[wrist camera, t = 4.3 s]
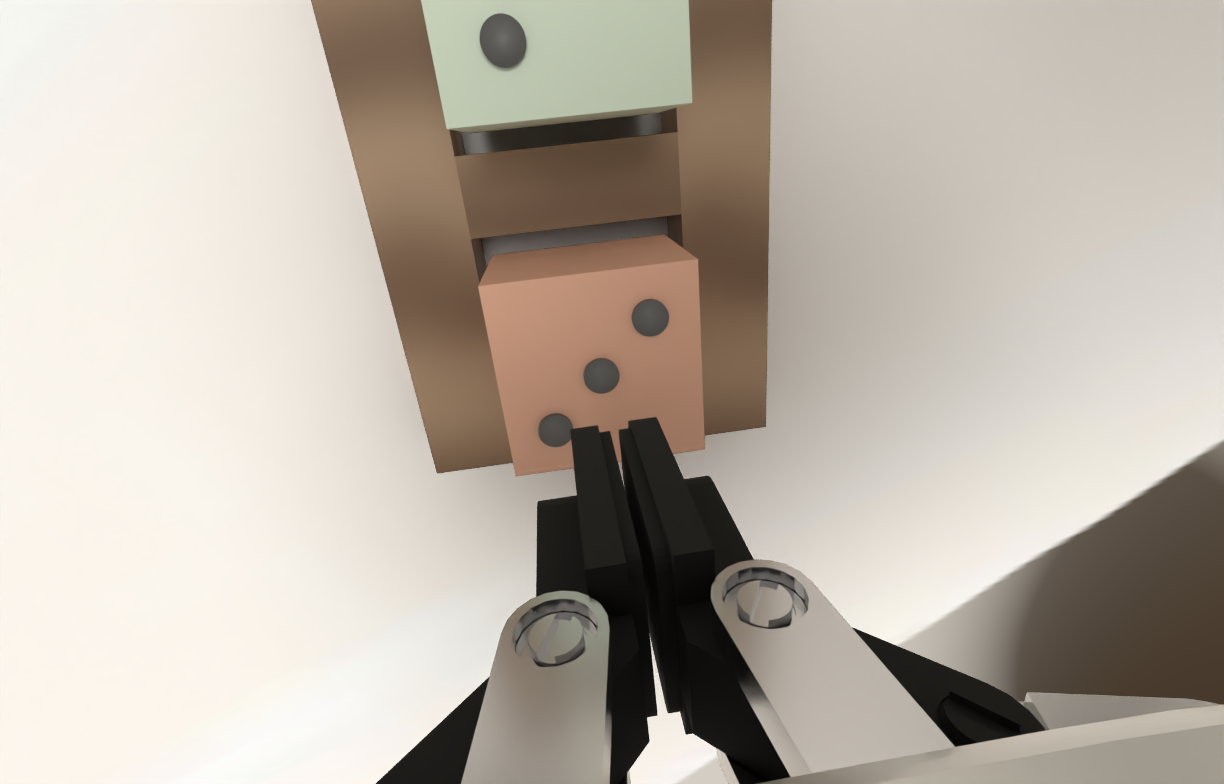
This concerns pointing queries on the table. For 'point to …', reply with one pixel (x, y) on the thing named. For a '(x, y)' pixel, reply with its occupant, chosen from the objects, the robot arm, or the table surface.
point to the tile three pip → (594, 344)
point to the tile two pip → (557, 60)
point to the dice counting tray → (555, 207)
